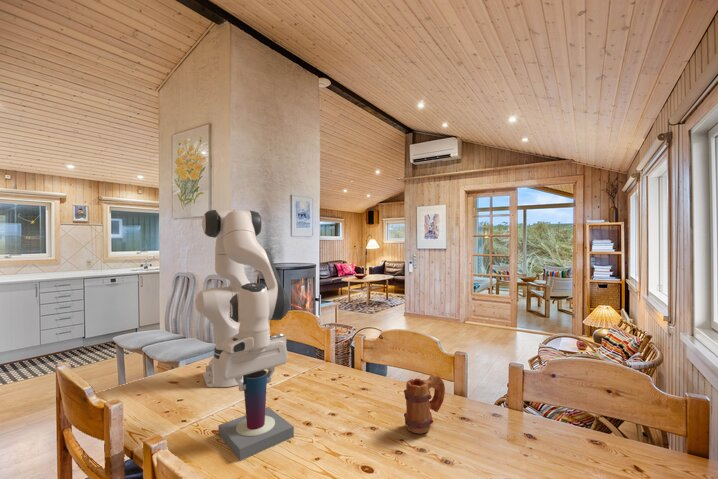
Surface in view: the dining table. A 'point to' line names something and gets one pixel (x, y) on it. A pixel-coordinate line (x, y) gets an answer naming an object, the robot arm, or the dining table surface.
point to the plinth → (255, 434)
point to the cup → (255, 398)
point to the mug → (422, 402)
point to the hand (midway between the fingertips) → (255, 386)
